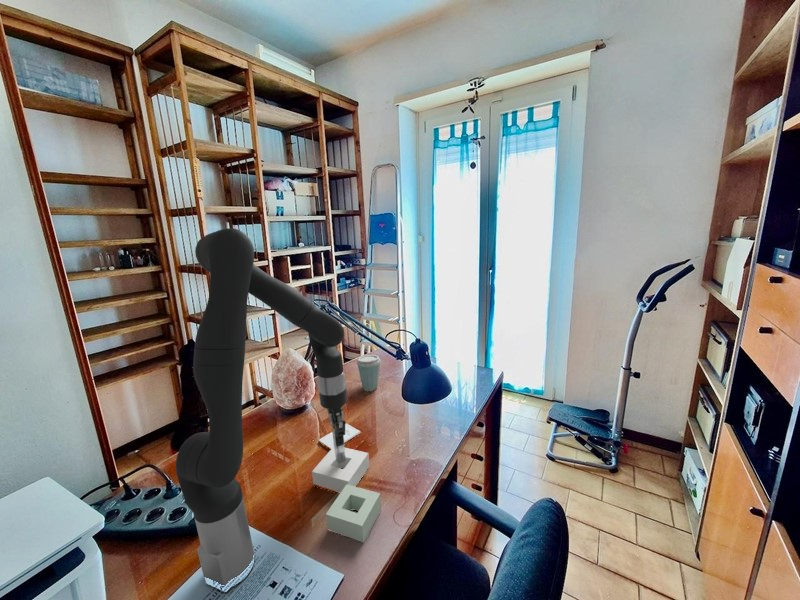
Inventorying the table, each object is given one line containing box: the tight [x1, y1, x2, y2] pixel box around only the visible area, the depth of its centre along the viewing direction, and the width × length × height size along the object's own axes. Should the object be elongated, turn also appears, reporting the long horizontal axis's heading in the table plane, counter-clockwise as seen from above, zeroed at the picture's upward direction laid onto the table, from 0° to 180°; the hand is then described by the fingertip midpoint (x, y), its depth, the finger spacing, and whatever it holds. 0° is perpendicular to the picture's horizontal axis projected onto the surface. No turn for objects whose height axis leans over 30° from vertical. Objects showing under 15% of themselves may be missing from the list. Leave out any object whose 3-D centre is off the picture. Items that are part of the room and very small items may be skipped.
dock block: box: [311, 447, 371, 492], centre depth 100 cm, size 12×12×5 cm
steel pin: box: [331, 427, 346, 463], centre depth 98 cm, size 3×3×11 cm
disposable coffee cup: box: [356, 354, 382, 392], centre depth 151 cm, size 11×11×15 cm
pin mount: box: [325, 484, 382, 543], centre depth 85 cm, size 10×10×5 cm
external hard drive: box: [317, 423, 362, 449], centre depth 119 cm, size 2×8×12 cm
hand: (338, 441), depth 98 cm, fingers closed on steel pin, 3 cm apart
